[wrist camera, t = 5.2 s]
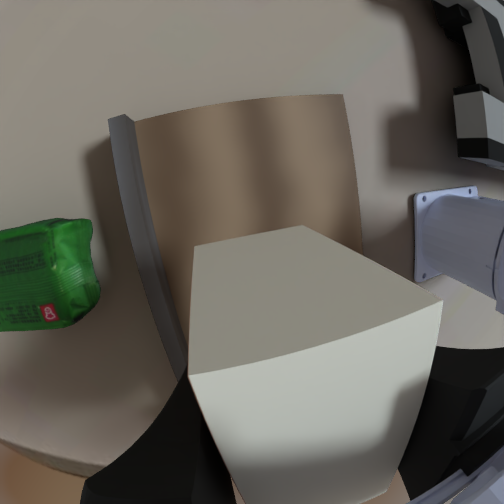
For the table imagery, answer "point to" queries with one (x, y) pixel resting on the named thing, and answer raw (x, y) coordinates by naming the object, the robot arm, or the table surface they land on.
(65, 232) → the snack package
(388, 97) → the table surface
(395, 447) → the cream carton
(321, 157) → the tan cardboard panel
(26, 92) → the table surface
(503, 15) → the game console
